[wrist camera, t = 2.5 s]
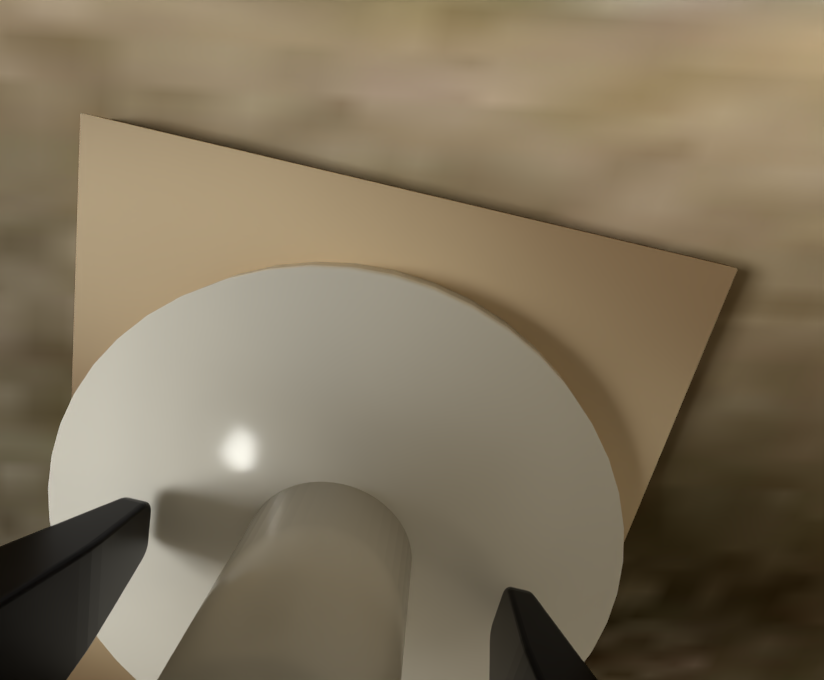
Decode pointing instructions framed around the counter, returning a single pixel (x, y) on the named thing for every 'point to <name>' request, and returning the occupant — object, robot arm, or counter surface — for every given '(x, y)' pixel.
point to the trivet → (397, 250)
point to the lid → (338, 481)
